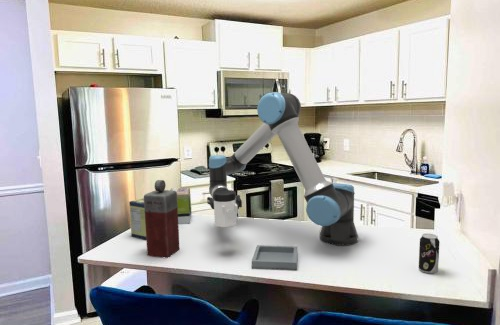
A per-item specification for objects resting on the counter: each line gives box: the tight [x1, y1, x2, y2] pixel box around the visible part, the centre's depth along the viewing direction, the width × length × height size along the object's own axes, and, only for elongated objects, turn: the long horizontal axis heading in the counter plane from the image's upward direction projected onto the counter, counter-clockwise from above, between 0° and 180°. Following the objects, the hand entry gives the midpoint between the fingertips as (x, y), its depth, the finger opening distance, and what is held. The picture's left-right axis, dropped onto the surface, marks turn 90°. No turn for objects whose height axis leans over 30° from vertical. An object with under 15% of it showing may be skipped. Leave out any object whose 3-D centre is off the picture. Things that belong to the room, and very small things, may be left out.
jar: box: [213, 189, 238, 228], centre depth 139 cm, size 9×8×12 cm
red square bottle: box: [143, 179, 180, 259], centre depth 141 cm, size 9×11×28 cm
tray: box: [251, 244, 298, 271], centre depth 133 cm, size 15×15×3 cm
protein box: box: [129, 197, 146, 241], centre depth 164 cm, size 10×16×16 cm
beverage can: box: [418, 232, 441, 275], centre depth 121 cm, size 6×6×12 cm
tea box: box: [170, 187, 193, 225], centre depth 184 cm, size 15×10×15 cm
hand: (230, 210), depth 134 cm, fingers closed on jar, 4 cm apart
